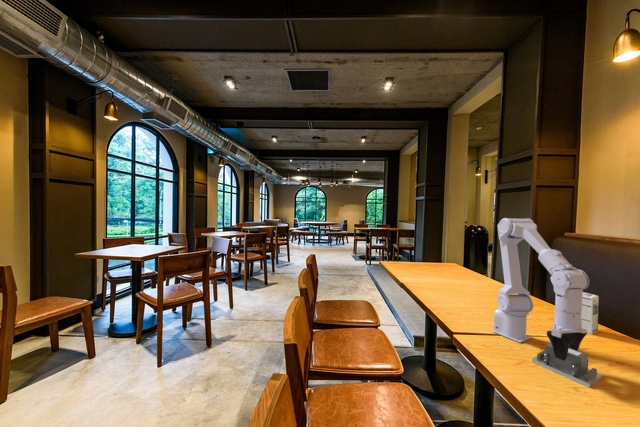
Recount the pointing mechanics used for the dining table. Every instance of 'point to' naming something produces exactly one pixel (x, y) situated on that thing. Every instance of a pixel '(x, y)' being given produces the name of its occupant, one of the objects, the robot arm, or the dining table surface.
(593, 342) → the dining table surface
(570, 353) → the block
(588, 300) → the syrup box
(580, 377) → the pin tray
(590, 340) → the dining table surface
